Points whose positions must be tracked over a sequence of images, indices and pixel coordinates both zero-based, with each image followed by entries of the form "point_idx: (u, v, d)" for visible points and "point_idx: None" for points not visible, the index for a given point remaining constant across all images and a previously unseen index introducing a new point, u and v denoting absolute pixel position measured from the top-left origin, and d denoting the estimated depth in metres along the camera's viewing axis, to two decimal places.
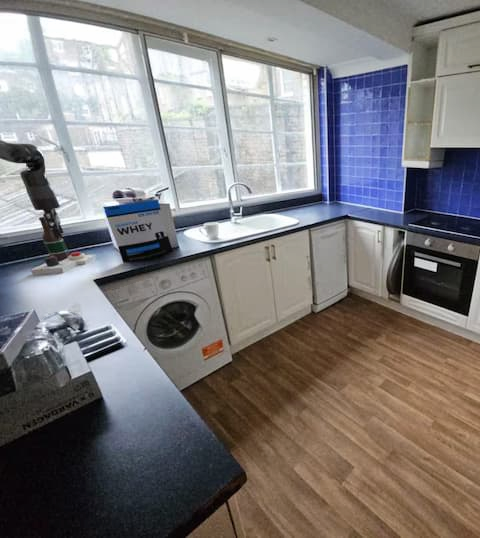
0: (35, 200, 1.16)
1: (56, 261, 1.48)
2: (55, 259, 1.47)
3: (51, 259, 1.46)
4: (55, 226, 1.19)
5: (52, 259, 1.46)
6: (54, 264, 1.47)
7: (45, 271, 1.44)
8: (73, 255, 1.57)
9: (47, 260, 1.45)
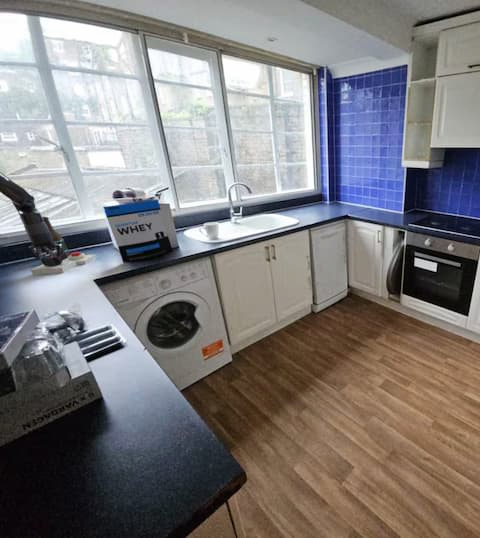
0: (43, 234, 1.41)
1: None
2: None
3: (51, 259, 1.46)
4: (62, 253, 1.48)
5: (52, 259, 1.46)
6: (54, 264, 1.47)
7: (45, 271, 1.44)
8: (73, 255, 1.57)
9: (47, 260, 1.45)
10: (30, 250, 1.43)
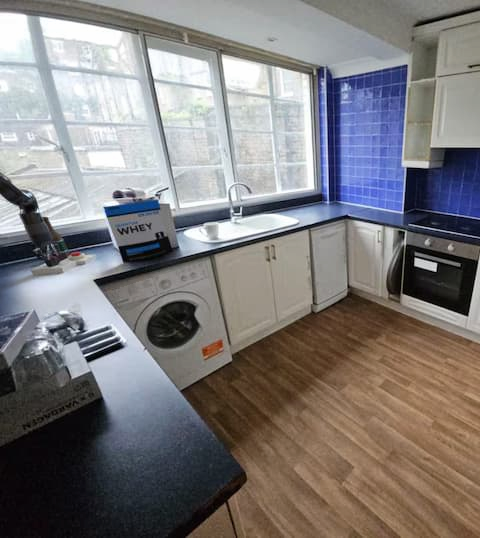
0: (29, 235, 1.39)
1: None
2: None
3: None
4: (43, 258, 1.42)
5: None
6: None
7: (45, 271, 1.44)
8: (73, 255, 1.57)
9: None
10: None
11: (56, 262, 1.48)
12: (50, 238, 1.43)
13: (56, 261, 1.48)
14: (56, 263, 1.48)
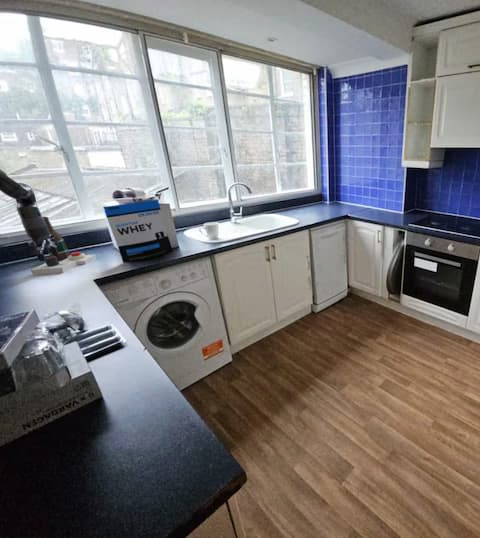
0: (25, 229, 1.38)
1: (48, 263, 1.46)
2: (47, 261, 1.45)
3: None
4: (35, 252, 1.38)
5: None
6: (47, 265, 1.46)
7: (45, 271, 1.44)
8: (73, 255, 1.57)
9: None
10: None
11: (56, 262, 1.48)
12: (47, 233, 1.42)
13: (56, 261, 1.48)
14: (56, 263, 1.48)
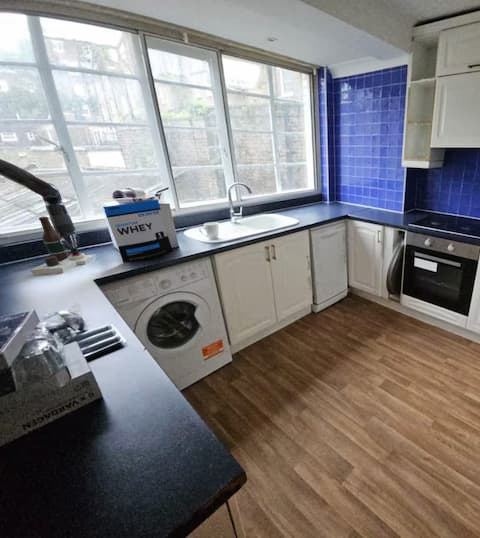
0: (54, 226, 1.49)
1: (48, 263, 1.46)
2: (47, 261, 1.45)
3: (44, 259, 1.45)
4: (69, 247, 1.54)
5: None
6: (47, 265, 1.46)
7: (45, 271, 1.44)
8: None
9: None
10: None
11: (56, 262, 1.48)
12: (73, 229, 1.54)
13: (56, 261, 1.48)
14: (56, 263, 1.48)
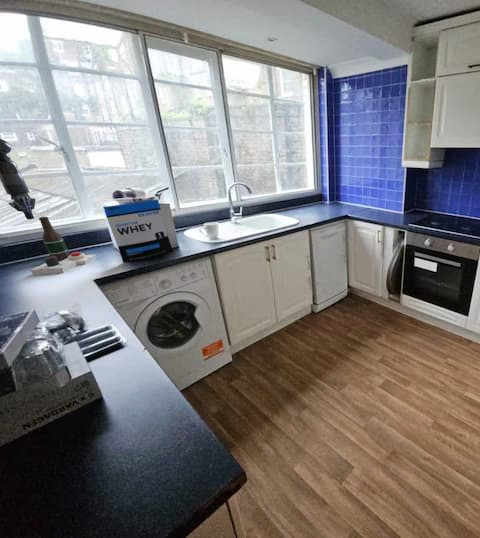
0: (4, 186, 1.38)
1: (48, 263, 1.46)
2: (47, 261, 1.45)
3: (44, 259, 1.45)
4: (22, 210, 1.43)
5: None
6: (47, 265, 1.46)
7: (45, 271, 1.44)
8: (73, 255, 1.57)
9: None
10: None
11: (56, 262, 1.48)
12: (26, 190, 1.42)
13: (56, 261, 1.48)
14: (56, 263, 1.48)
